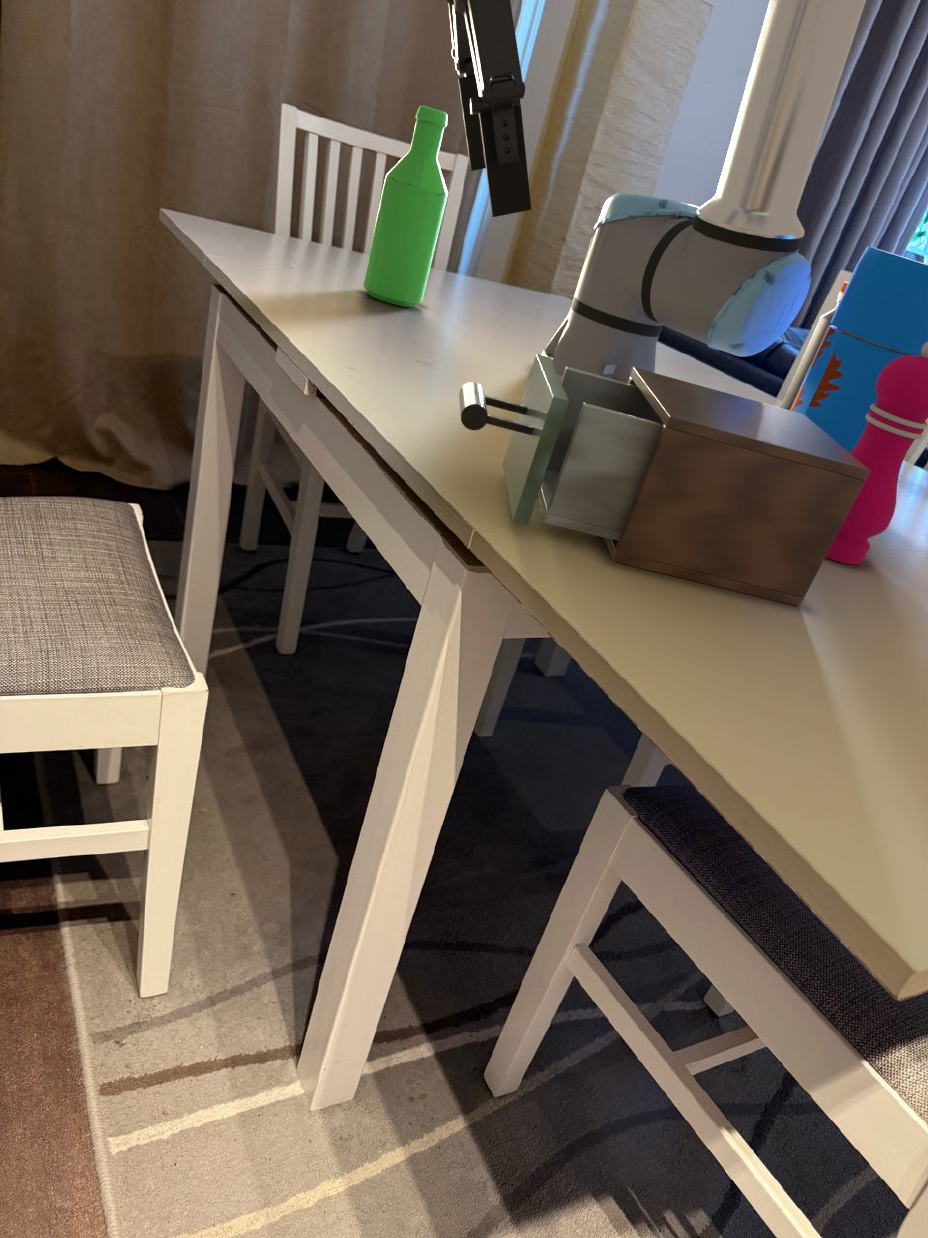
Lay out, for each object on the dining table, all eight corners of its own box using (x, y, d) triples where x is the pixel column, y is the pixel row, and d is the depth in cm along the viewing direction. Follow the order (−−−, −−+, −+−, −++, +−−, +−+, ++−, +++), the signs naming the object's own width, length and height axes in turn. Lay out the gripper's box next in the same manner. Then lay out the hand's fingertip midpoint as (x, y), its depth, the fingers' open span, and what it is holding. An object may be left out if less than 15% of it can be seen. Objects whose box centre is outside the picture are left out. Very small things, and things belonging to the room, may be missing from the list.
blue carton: (851, 496, 104) (966, 276, 92) (857, 524, 94) (985, 283, 83) (761, 463, 105) (861, 243, 94) (758, 488, 96) (869, 246, 84)
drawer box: (613, 561, 68) (670, 416, 62) (587, 493, 79) (633, 366, 74) (800, 606, 70) (871, 470, 65) (747, 534, 82) (804, 414, 76)
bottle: (412, 312, 126) (458, 116, 114) (354, 293, 127) (394, 95, 115) (426, 304, 134) (471, 119, 122) (371, 286, 134) (411, 101, 123)
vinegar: (765, 418, 129) (828, 276, 120) (788, 418, 134) (851, 281, 124) (805, 437, 125) (874, 292, 116) (827, 436, 130) (895, 297, 120)
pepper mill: (783, 524, 87) (882, 319, 78) (851, 542, 88) (957, 342, 79) (805, 555, 81) (916, 337, 72) (878, 575, 82) (998, 361, 72)
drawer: (440, 505, 66) (476, 376, 61) (440, 449, 76) (470, 335, 72) (692, 566, 69) (745, 447, 64) (658, 504, 79) (701, 398, 75)
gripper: (385, -164, 64) (436, 159, 77) (402, -191, 44) (467, 246, 58) (488, -185, 64) (521, 142, 77) (551, -221, 44) (581, 224, 58)
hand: (498, 188), depth 67 cm, fingers open, 13 cm apart
